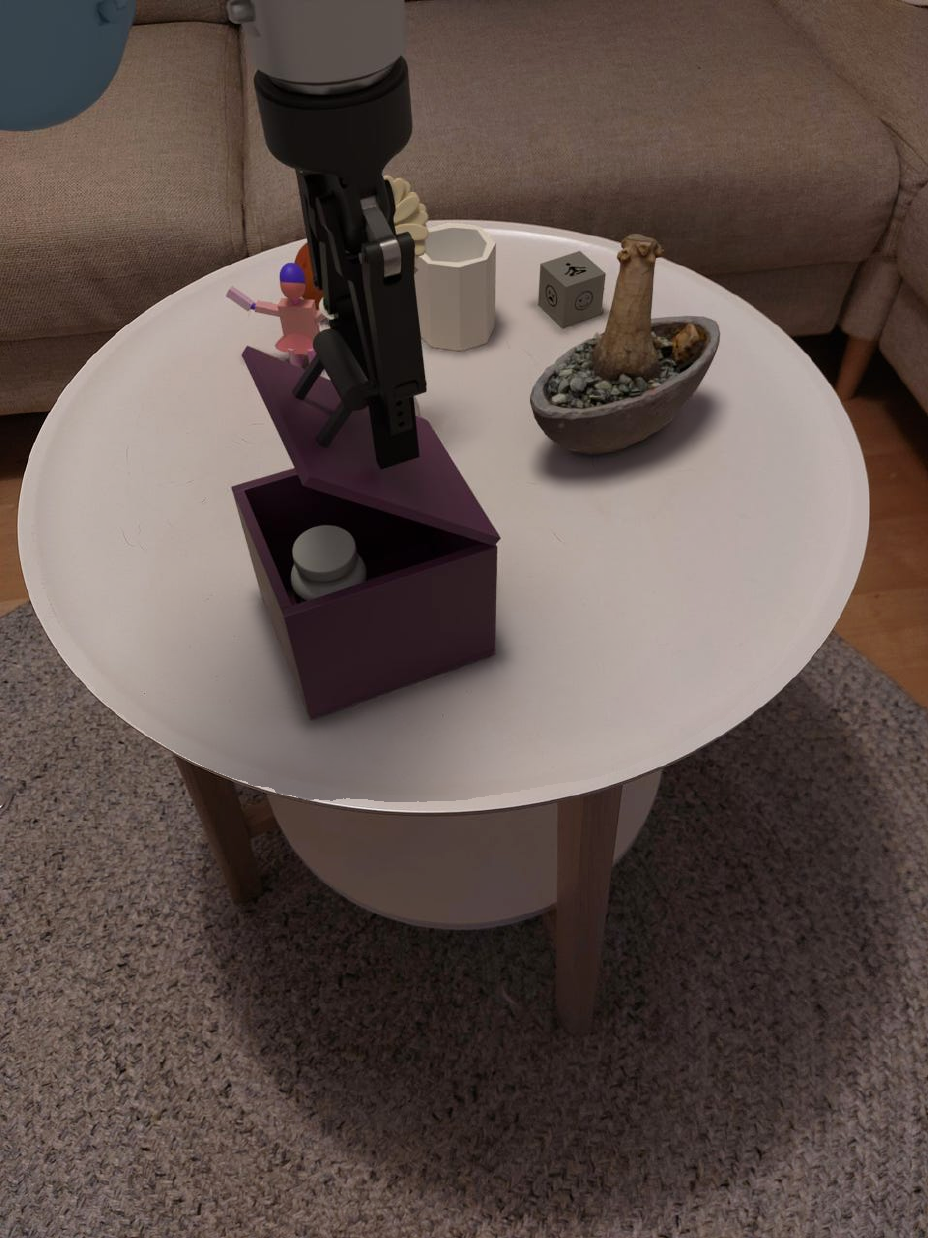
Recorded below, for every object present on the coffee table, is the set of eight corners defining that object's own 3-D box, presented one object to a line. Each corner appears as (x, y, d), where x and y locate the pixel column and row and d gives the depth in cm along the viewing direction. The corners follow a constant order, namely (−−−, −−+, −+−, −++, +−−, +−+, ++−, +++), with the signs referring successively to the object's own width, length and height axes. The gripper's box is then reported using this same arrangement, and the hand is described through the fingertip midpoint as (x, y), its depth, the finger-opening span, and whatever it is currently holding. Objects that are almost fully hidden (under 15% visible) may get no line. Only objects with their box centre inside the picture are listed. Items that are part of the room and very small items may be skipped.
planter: (707, 395, 98) (751, 205, 82) (678, 509, 88) (722, 319, 73) (564, 368, 101) (579, 180, 85) (520, 476, 91) (529, 286, 75)
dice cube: (562, 328, 105) (565, 287, 101) (538, 304, 108) (540, 263, 104) (601, 314, 107) (605, 273, 103) (576, 291, 109) (579, 250, 106)
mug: (499, 348, 103) (500, 264, 96) (418, 354, 103) (413, 270, 95) (486, 283, 111) (486, 200, 103) (410, 288, 110) (405, 206, 102)
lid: (302, 486, 57) (356, 409, 54) (240, 354, 65) (285, 282, 62) (494, 546, 68) (546, 485, 66) (422, 428, 76) (466, 369, 74)
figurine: (243, 351, 104) (221, 255, 95) (355, 353, 103) (343, 257, 94) (236, 371, 101) (213, 275, 93) (351, 374, 101) (339, 277, 92)
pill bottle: (312, 599, 81) (294, 515, 74) (380, 606, 81) (369, 522, 73) (296, 654, 78) (275, 572, 70) (366, 661, 77) (353, 580, 69)
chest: (310, 720, 75) (284, 617, 65) (261, 595, 83) (230, 486, 73) (495, 654, 79) (497, 546, 68) (431, 540, 86) (425, 428, 76)
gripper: (204, 4, 52) (284, 362, 70) (316, 169, 41) (376, 542, 59) (338, -24, 53) (382, 333, 71) (481, 128, 42) (490, 503, 61)
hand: (380, 427), depth 65 cm, fingers closed on lid, 6 cm apart
